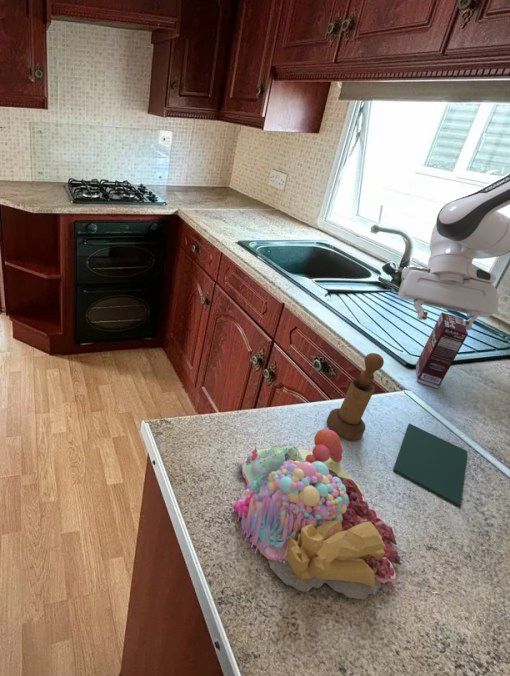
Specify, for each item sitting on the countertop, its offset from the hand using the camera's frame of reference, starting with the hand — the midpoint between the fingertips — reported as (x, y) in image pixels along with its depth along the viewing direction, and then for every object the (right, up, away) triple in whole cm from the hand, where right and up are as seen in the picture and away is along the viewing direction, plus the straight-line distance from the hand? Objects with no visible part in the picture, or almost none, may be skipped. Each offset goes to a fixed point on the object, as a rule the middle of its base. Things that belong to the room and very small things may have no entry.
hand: (443, 324), depth 98 cm
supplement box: (-3, -13, +2) cm, 14 cm away
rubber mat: (-20, -24, -22) cm, 38 cm away
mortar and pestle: (-33, -20, -17) cm, 42 cm away
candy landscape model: (-48, -27, -35) cm, 65 cm away
